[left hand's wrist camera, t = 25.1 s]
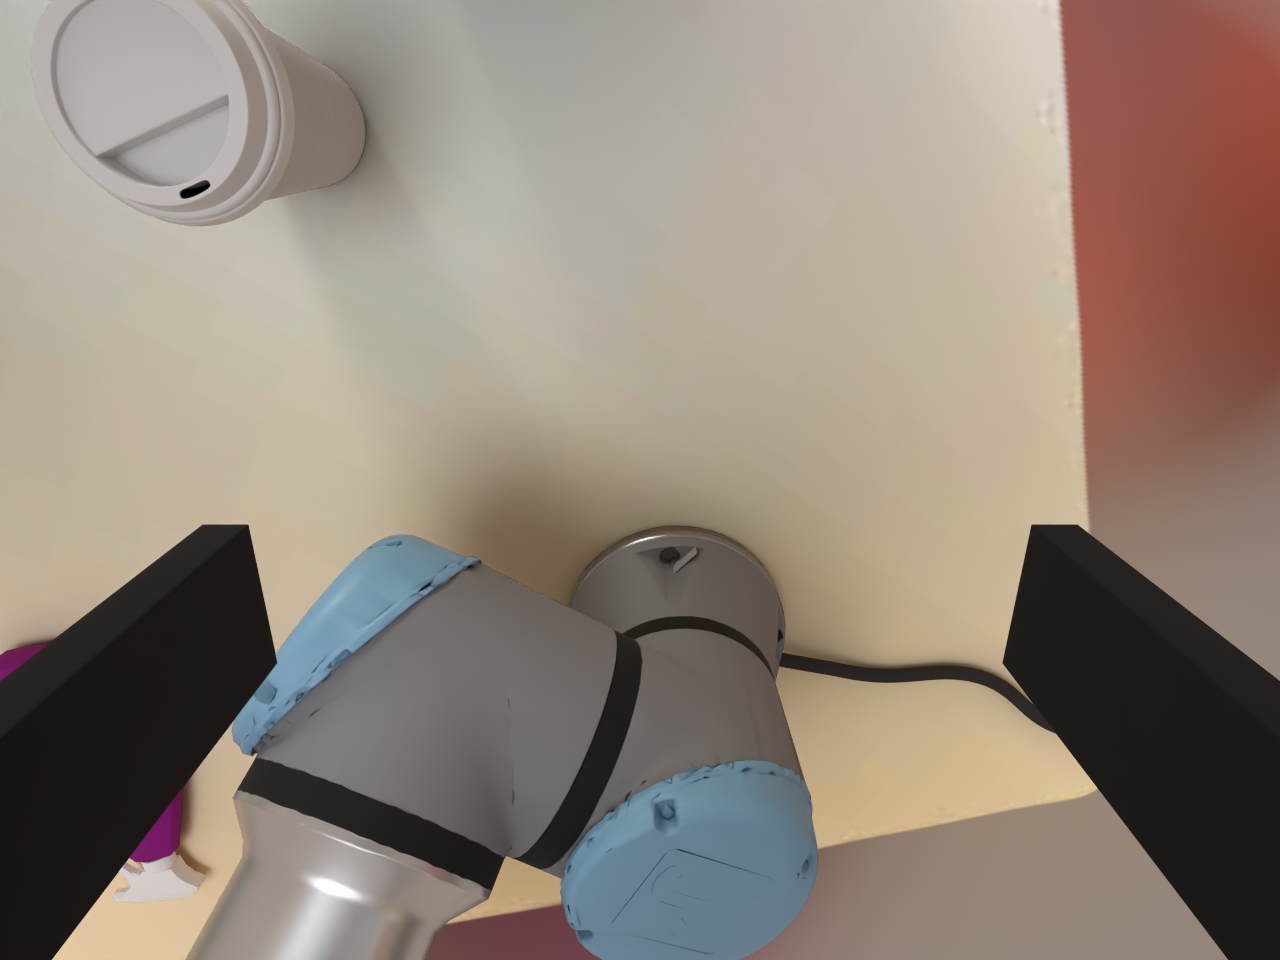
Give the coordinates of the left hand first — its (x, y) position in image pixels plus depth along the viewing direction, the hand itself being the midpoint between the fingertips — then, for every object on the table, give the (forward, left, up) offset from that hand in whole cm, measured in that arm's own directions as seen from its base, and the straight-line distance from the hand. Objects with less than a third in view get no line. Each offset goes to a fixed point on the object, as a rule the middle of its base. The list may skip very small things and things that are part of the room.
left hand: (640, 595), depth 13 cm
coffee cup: (+21, +5, -35) cm, 41 cm away
